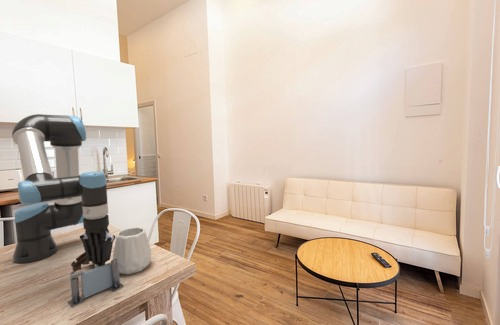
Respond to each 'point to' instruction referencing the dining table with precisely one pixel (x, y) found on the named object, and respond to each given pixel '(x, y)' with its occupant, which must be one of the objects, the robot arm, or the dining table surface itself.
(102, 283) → the gate
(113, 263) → the post
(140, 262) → the vase
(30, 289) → the dining table surface
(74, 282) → the hinge post
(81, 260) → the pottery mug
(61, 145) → the robot arm
